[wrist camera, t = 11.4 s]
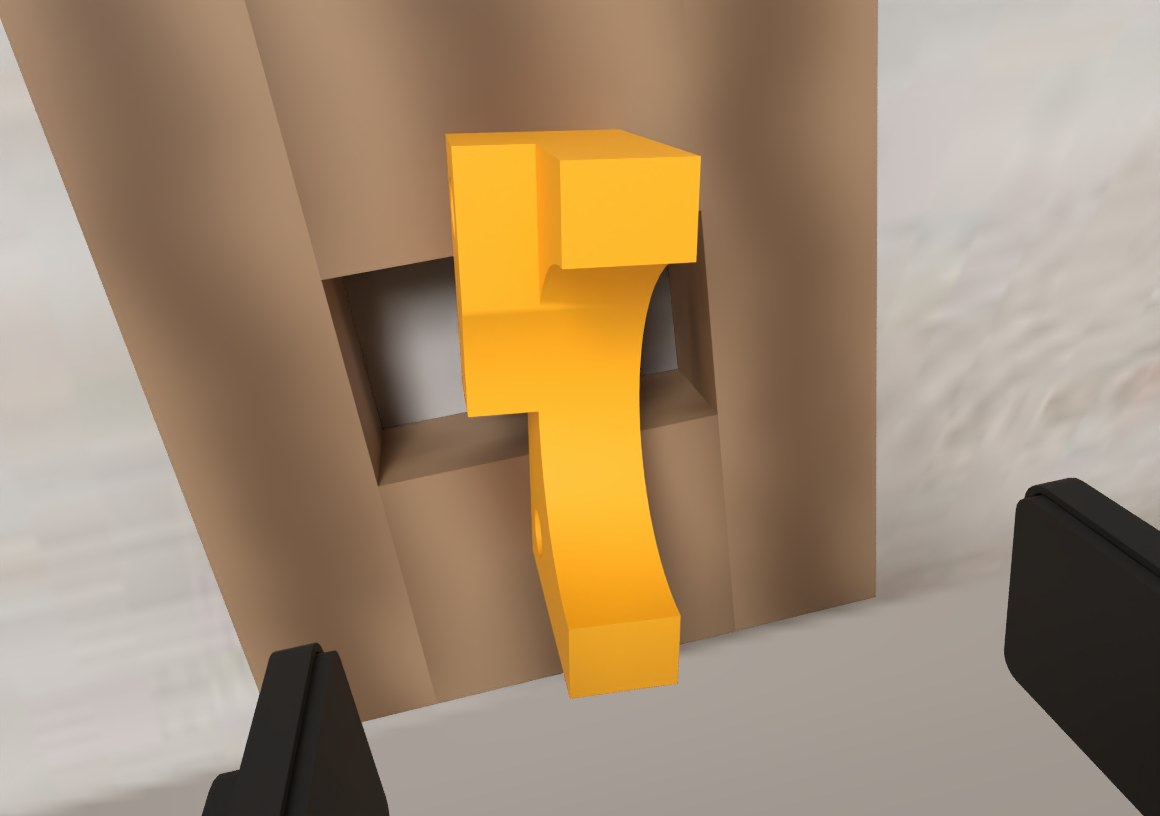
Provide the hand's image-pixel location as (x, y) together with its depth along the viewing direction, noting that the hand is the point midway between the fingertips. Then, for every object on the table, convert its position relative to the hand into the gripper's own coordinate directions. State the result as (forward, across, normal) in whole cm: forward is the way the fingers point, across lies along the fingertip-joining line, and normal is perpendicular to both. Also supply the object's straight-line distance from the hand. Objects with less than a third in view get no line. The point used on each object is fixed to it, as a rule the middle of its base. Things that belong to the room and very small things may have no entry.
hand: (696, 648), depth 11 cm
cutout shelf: (+17, +1, 0) cm, 17 cm away
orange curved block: (+13, +1, 0) cm, 13 cm away
